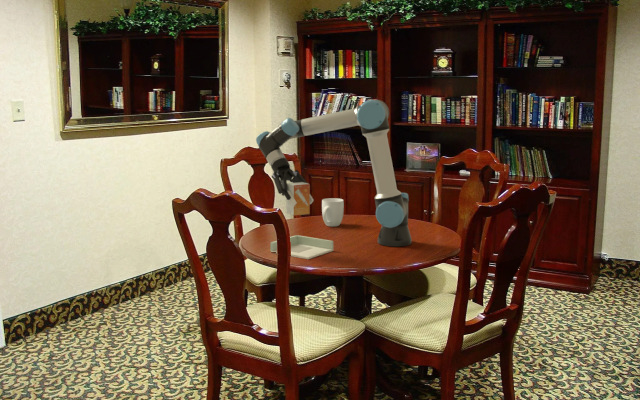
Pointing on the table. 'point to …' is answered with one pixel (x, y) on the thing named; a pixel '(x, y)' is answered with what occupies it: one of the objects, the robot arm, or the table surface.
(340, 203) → the mug
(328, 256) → the table surface
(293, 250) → the tray
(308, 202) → the small box
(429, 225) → the table surface
